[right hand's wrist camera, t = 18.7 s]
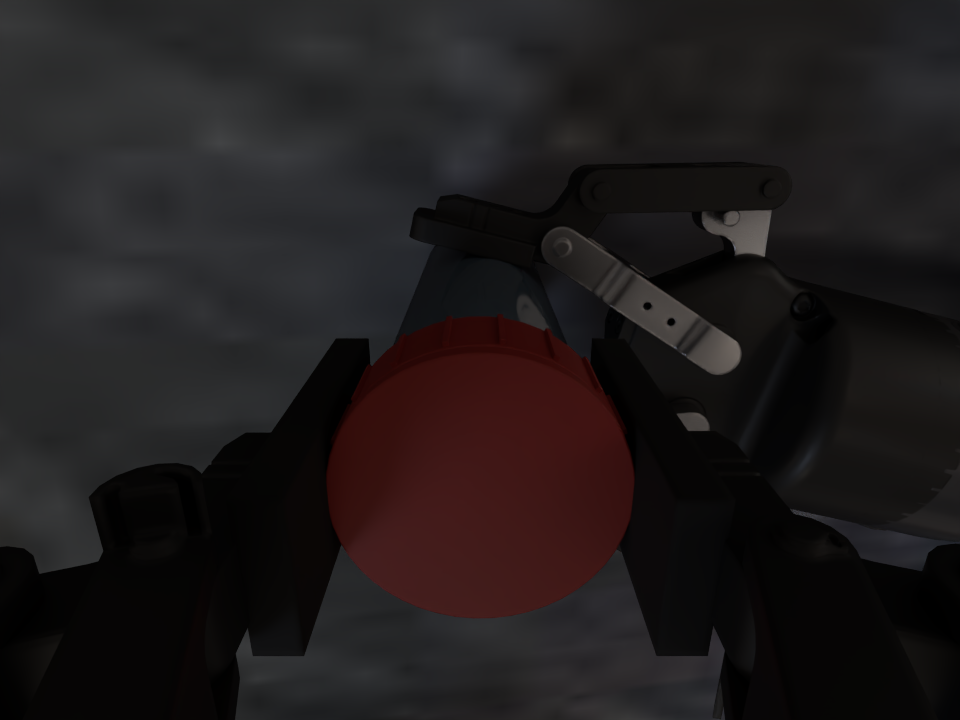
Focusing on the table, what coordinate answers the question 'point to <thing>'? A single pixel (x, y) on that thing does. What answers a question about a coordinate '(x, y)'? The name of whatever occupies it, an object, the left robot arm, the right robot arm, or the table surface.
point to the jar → (478, 292)
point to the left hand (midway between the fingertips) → (400, 302)
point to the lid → (480, 469)
